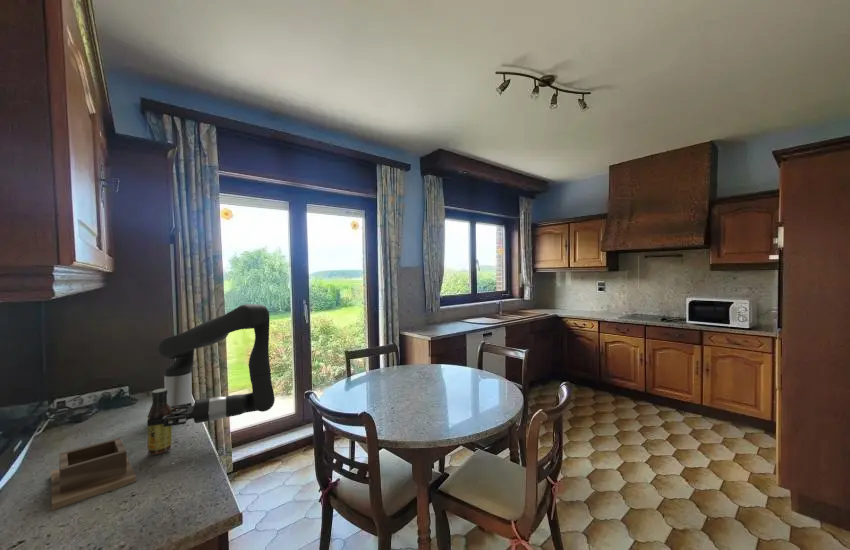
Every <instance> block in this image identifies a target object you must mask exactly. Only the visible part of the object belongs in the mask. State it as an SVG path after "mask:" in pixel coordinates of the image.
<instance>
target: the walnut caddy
mask: <svg viewBox="0 0 850 550" xmlns="http://www.w3.org/2000/svg"><path fill="white" fill-rule="evenodd" d="M58 460H59V461H58V462H59V463H58V464H59V466H58V467H59V468H58V469H55V470H51V511H54V510H56V509H60V508H62V507H66V506H69V505H72V504H74V503H78V502H81V501H84V500H87V499H89V497H90V498H92V496H93V497H96V496H98V495H101V494H105V493H107V492H110V491H114V490H115V489H118V488H121V487H125V486H128V485H131V484H133V482H134V483H136V482H137V475H136V474H135V471H134V469H133V466H132V464H131V462H130V460H129V457H128V455H127V450H126V448H125V445H124V443H123V441H122V438H121V437H118V438H114V439H110V440H106V441H102V442H99V443H95V444H94V443H93V444H90V445H87V446H84V447H79V448H75V449H71V450H67V451H63V452H60V453H59V458H58ZM86 498H87V499H86ZM83 499H84V500H83Z"/></svg>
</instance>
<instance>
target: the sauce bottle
mask: <svg viewBox="0 0 850 550" xmlns="http://www.w3.org/2000/svg"><path fill="white" fill-rule="evenodd" d="M151 397H152V402H151V406H150V409H149V412H148V414H147V420H148V419H149V418H155V417H163V416H166V415H170V414H171V408H170V406H169V405H168V404H167V389H165V388H158V389H154V390H153V391H151ZM168 421H170V420H168ZM172 427H173V426H166V427H164V425H162V424H160V425H154V426H148V425H147V450H148V451H147V453H148V454H150V455H153V456H155V455H159V454H164V453H165V452H168V451H170V450H171V447H172V443H173V442H172V440H173V439H172V436H173V435H172V434H173V433H172V429H173V428H172Z"/></svg>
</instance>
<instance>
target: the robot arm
mask: <svg viewBox="0 0 850 550" xmlns="http://www.w3.org/2000/svg"><path fill="white" fill-rule="evenodd" d="M251 329H254V344H253V347H252V350H251V353H250V355H249V359H248V372H249V377H250V379H249V380H250V383H251V392H249V393H242V394H232V395H227V396H214V397H208V398H207V397H206V398H199V399H196V400H195V401H194V405H193V404H192V403H193V401H192V397H193V395H192V394H193V393H192V385H193V384H192V375H193V374H192V369H193V366H194V359H195V358H194V357H195V356H194V355H195V349H201V348H205V347H208V346H212V345H215V344H217V343H219V342H221V341H223V340H225V339H226V338H227V337H228V335H229V334H230V333H232V332H236V331H240V330H251ZM269 340H270V311H269V309H268V308H267V306H265V305H264V304H258V303H257V304H254V303H252V304H250V303H247V304H241V305H240V306H238V307H236V308H234V309H231V311H228V312H227V313H225V314H223V315H221V316H218V317H216V318H215V317H214V318H213V319H209V320H207V321H205V322H202V323H201V324H198V325H195V326H193V327H192V328H190V329H188V330H185V331H184V332H181V333H178V334H175V335H172V336H166V337H165V338H163V339H162V340H161V341H160V343H159V344H158V347H157V352H158V355H159V356H160V357H161V358H163V359H165V360H174V359H175V360H174V361H173V363H171V364H170V365H168V366H167V367H165V368H164V374H163V375H164V381H163V382H164V389H167V404H168V405H169V406H170V408H171V414H170V415H166V416H163V417H155V418H149V419H148V418H147V424H146V425H147V427H148V426H154V425H160V424H162V425H164V427H166V426H172V427H173V426H179V425H185V424H187V421H188V420H192V419H193V422H194V424H199V423H204V422H212V421H217V420H221V419H224V418H231V417H236V416H240V415H243V414H245V413H252V412H262V413H263V412H267V411H269V410H271V409H272V407H273V406H274V404H275V401H276V400H275V399H276V398H275V393H274V387H273V383H272V372H271V365H270V354H269V352H270V351H269V349H270V348H269ZM168 420H170V421H168Z"/></svg>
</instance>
